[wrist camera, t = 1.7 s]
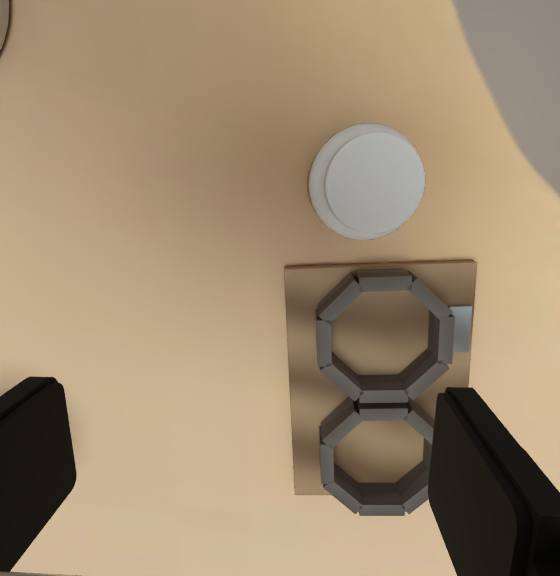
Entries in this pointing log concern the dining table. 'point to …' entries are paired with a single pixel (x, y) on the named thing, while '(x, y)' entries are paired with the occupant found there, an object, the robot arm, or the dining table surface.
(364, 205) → the pill bottle
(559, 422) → the dining table surface
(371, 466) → the socket board
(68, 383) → the dining table surface
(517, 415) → the dining table surface
